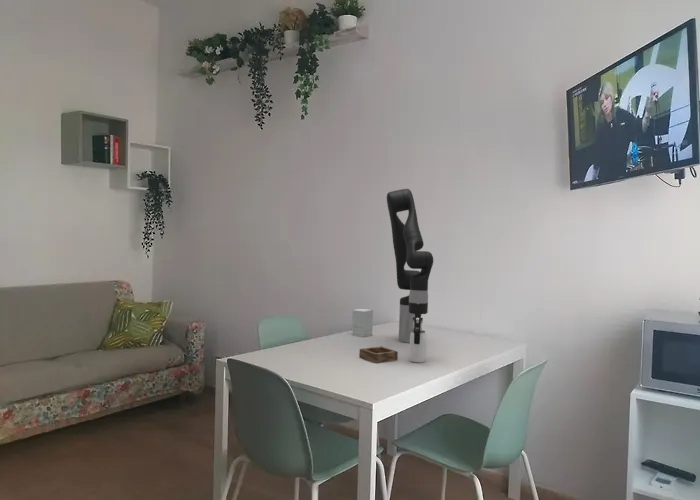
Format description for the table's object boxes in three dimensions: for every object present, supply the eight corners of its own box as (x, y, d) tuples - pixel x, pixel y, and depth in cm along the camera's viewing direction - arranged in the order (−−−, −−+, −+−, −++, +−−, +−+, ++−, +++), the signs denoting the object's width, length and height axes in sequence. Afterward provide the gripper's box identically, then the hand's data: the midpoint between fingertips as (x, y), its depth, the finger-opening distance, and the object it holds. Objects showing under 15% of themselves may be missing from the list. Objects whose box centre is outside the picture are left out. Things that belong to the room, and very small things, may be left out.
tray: (381, 354, 232) (381, 346, 232) (397, 360, 223) (397, 351, 223) (359, 357, 226) (359, 348, 226) (375, 363, 217) (375, 354, 217)
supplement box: (372, 335, 274) (373, 309, 274) (363, 337, 268) (364, 311, 268) (361, 333, 279) (361, 308, 278) (351, 335, 273) (352, 309, 273)
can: (415, 363, 218) (416, 333, 218) (406, 359, 224) (407, 330, 224) (428, 362, 221) (429, 332, 221) (419, 358, 227) (420, 329, 227)
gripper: (409, 298, 229) (408, 338, 230) (408, 302, 215) (406, 344, 216) (427, 299, 228) (426, 339, 229) (428, 303, 214) (426, 345, 215)
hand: (417, 341), depth 222 cm, fingers open, 8 cm apart
